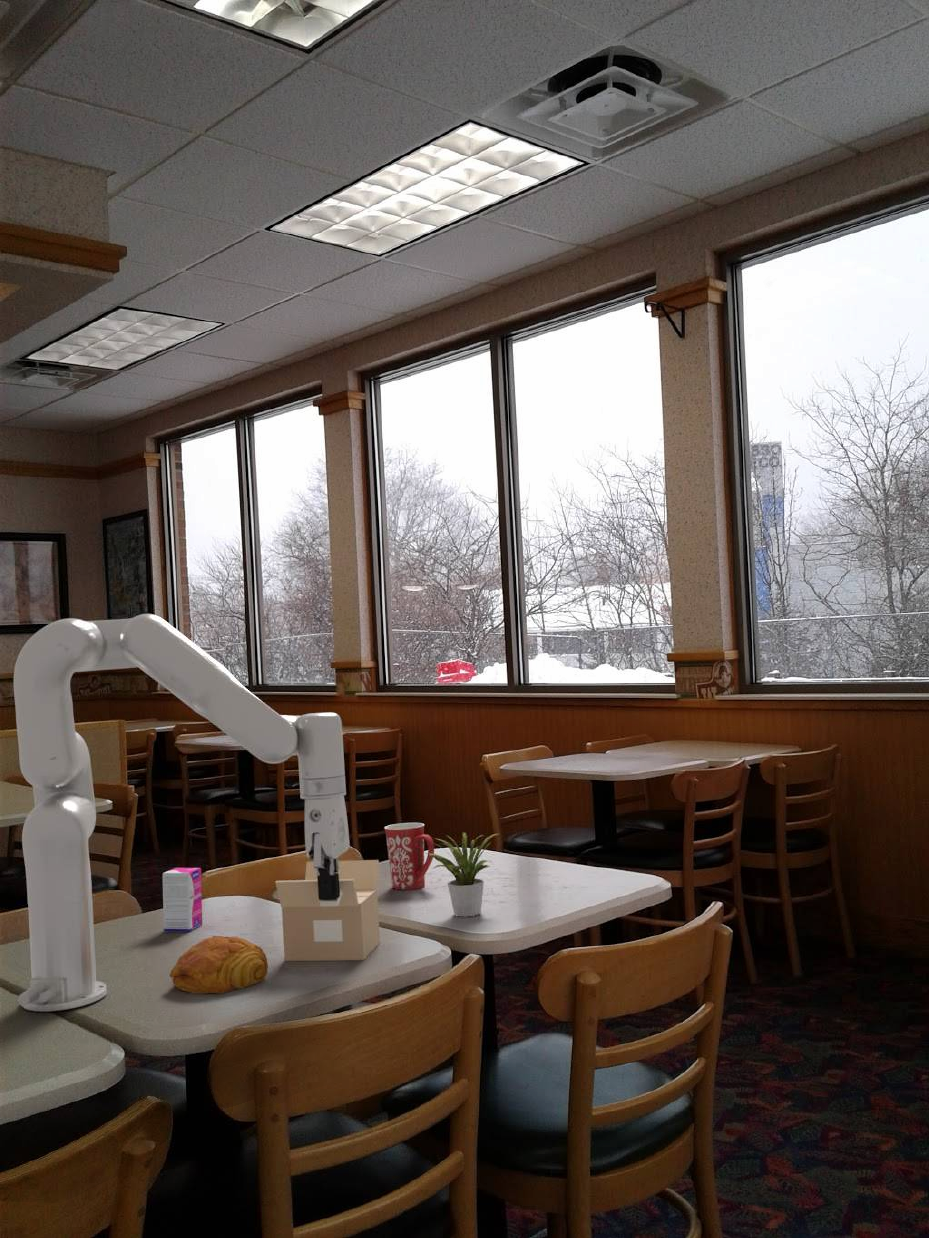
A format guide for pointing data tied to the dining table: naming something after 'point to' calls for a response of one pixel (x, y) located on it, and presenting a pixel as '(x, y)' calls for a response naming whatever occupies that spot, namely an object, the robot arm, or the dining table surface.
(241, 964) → the croissant
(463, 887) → the house plant
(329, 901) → the flap near
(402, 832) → the mug
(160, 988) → the dining table surface
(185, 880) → the supplement box
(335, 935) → the carton
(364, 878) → the flap far
